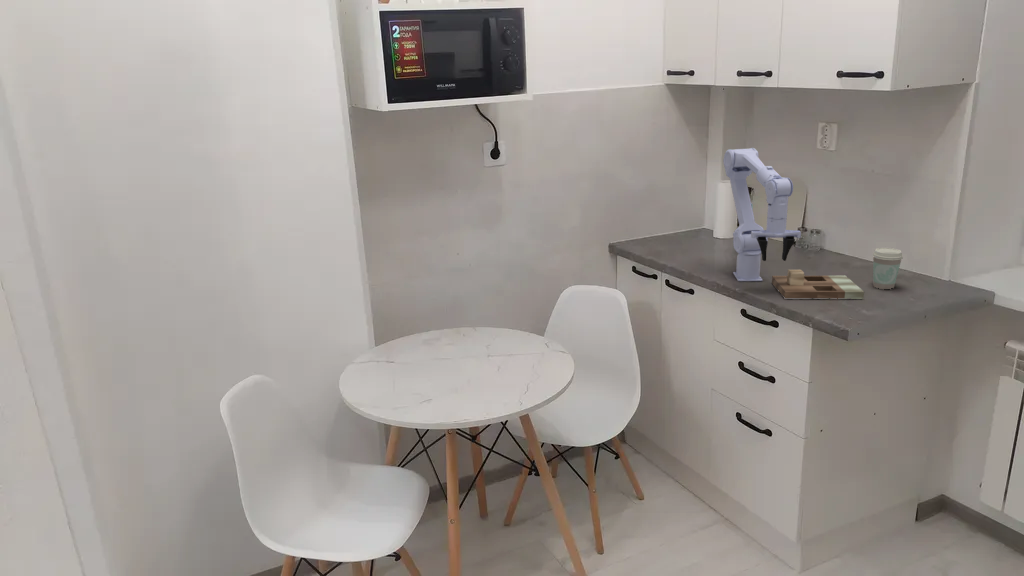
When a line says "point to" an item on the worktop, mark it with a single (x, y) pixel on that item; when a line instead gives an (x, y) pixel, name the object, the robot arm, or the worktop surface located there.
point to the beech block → (795, 277)
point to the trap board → (819, 287)
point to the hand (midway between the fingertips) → (774, 260)
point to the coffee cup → (886, 267)
